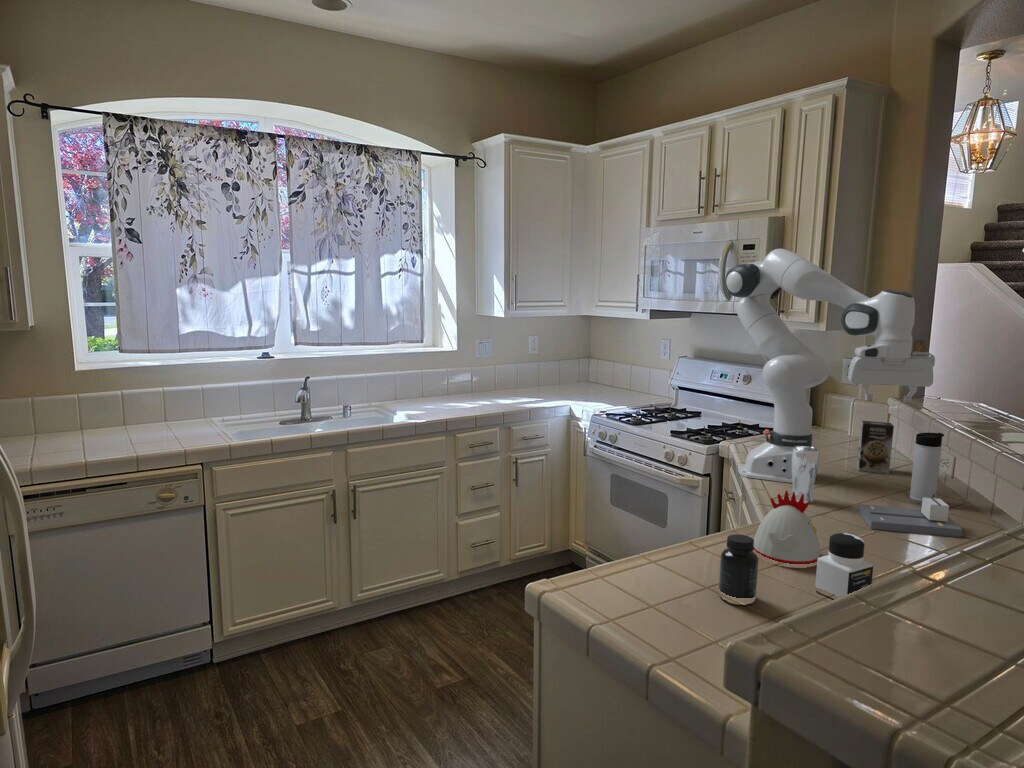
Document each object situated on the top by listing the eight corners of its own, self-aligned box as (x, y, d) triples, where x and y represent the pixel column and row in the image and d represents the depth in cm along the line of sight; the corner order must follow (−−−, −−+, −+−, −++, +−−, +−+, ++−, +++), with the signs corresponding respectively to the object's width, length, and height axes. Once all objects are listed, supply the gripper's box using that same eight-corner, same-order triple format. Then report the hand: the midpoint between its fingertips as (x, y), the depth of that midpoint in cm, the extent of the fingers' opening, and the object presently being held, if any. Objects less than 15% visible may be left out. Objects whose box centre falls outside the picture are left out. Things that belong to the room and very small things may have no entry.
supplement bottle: (747, 590, 132) (751, 532, 130) (761, 606, 125) (765, 545, 123) (713, 590, 132) (716, 532, 130) (725, 606, 125) (729, 545, 123)
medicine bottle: (846, 607, 125) (852, 546, 124) (814, 591, 132) (818, 533, 130) (871, 599, 129) (876, 539, 127) (838, 584, 135) (842, 527, 133)
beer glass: (815, 498, 191) (819, 447, 189) (815, 505, 184) (819, 452, 182) (789, 495, 194) (792, 444, 191) (788, 501, 187) (791, 449, 185)
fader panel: (870, 529, 167) (871, 520, 166) (857, 511, 180) (857, 503, 180) (961, 537, 162) (962, 529, 161) (940, 518, 175) (941, 510, 175)
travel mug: (940, 506, 185) (948, 435, 182) (914, 504, 186) (921, 434, 183) (931, 499, 191) (938, 431, 188) (906, 497, 192) (912, 429, 189)
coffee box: (858, 471, 220) (862, 423, 218) (856, 466, 226) (860, 419, 224) (889, 474, 217) (894, 425, 214) (886, 469, 223) (891, 422, 220)
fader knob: (929, 520, 167) (930, 504, 166) (921, 512, 172) (922, 496, 172) (947, 521, 166) (949, 505, 165) (938, 513, 171) (940, 498, 171)
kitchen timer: (814, 574, 140) (819, 505, 138) (746, 559, 147) (750, 493, 145) (823, 552, 152) (828, 488, 149) (760, 539, 159) (764, 478, 157)
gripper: (931, 351, 180) (926, 401, 182) (848, 348, 185) (844, 397, 187) (940, 353, 174) (934, 405, 176) (854, 350, 179) (849, 401, 181)
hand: (887, 401), depth 182 cm, fingers open, 8 cm apart
